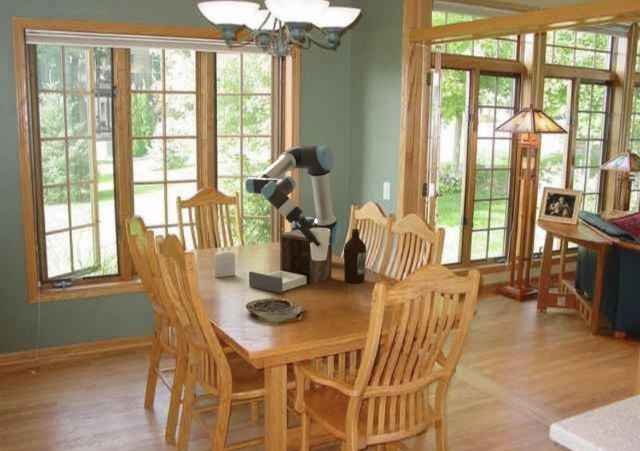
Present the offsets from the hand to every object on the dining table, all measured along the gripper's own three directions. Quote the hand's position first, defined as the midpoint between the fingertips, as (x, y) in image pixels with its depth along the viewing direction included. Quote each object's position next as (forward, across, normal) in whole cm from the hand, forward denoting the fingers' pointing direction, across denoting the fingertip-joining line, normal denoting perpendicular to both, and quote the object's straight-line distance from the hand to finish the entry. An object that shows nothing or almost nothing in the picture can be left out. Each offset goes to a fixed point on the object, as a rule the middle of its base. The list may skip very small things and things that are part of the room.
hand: (326, 248), depth 285 cm
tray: (-2, -10, -30) cm, 32 cm away
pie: (+2, +32, -28) cm, 42 cm away
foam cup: (+1, 0, -6) cm, 6 cm away
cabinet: (+5, -26, -24) cm, 36 cm away
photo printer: (-22, -23, -52) cm, 61 cm away
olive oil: (+22, -24, -7) cm, 34 cm away
